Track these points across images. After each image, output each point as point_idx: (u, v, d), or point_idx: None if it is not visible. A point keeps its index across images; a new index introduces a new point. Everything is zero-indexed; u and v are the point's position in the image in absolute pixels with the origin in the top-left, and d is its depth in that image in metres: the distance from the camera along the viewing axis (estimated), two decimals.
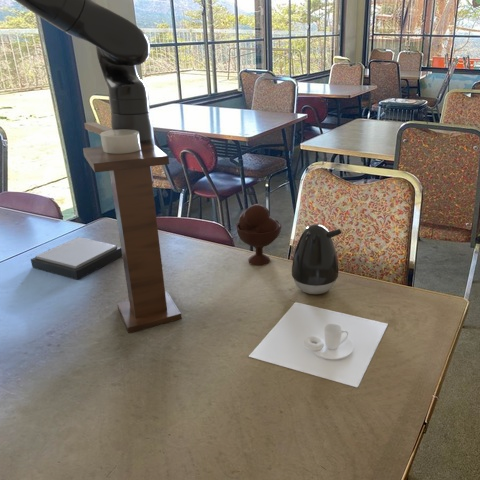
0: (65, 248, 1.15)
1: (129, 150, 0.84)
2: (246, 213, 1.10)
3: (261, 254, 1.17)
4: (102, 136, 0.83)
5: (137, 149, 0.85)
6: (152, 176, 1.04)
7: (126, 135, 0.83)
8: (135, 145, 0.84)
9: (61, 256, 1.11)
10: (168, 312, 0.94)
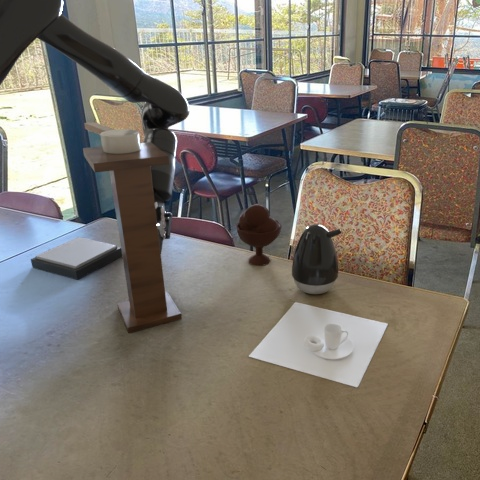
0: (65, 248, 1.15)
1: (129, 150, 0.84)
2: (246, 213, 1.10)
3: (261, 254, 1.17)
4: (102, 136, 0.83)
5: (137, 149, 0.85)
6: (170, 232, 1.04)
7: (126, 135, 0.83)
8: (135, 145, 0.84)
9: (61, 256, 1.11)
10: (168, 312, 0.94)
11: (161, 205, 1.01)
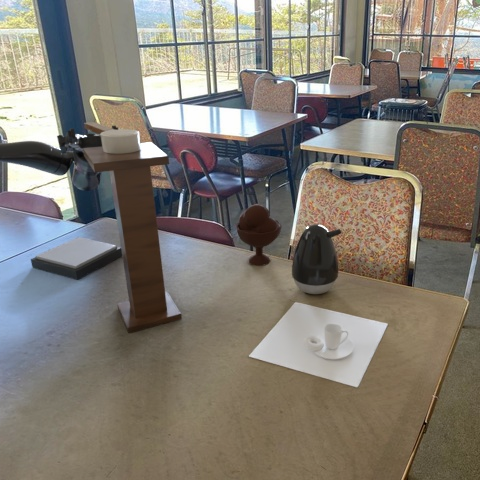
0: (65, 248, 1.15)
1: (129, 150, 0.84)
2: (246, 213, 1.10)
3: (261, 254, 1.17)
4: (102, 136, 0.83)
5: (137, 149, 0.85)
6: None
7: (126, 135, 0.83)
8: (135, 145, 0.84)
9: (61, 256, 1.11)
10: (168, 312, 0.94)
11: None
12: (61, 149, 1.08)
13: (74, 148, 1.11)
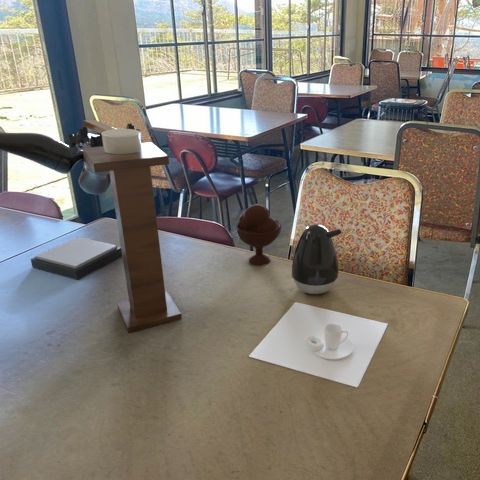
0: (65, 248, 1.15)
1: (130, 151, 0.83)
2: (246, 213, 1.10)
3: (261, 254, 1.17)
4: (103, 136, 0.82)
5: (138, 149, 0.85)
6: None
7: (127, 135, 0.83)
8: (136, 146, 0.84)
9: (61, 256, 1.11)
10: (168, 312, 0.94)
11: None
12: (71, 150, 0.98)
13: None
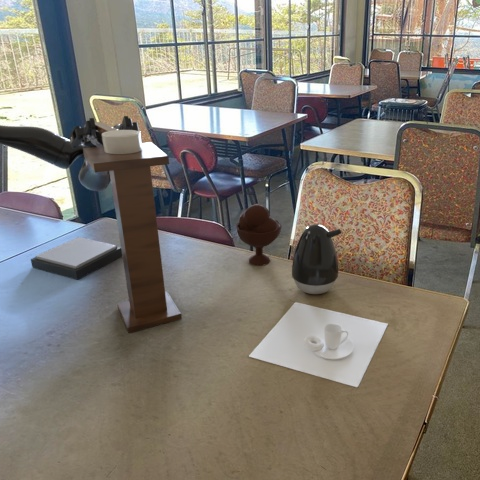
0: (65, 248, 1.15)
1: (129, 151, 0.83)
2: (246, 213, 1.10)
3: (261, 254, 1.17)
4: (103, 136, 0.83)
5: (137, 150, 0.85)
6: None
7: (126, 136, 0.83)
8: (135, 146, 0.84)
9: (61, 256, 1.11)
10: (168, 312, 0.94)
11: None
12: (75, 142, 0.95)
13: (87, 142, 0.98)
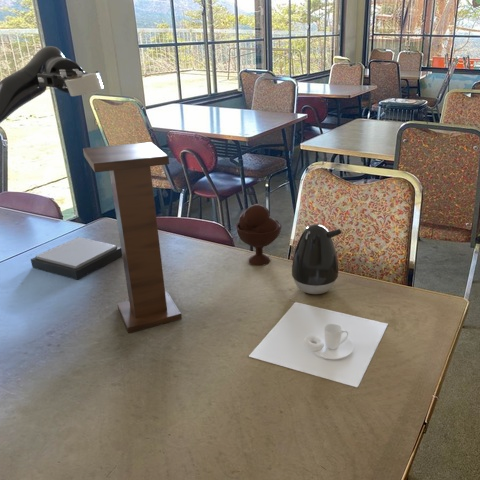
0: (65, 248, 1.15)
1: (89, 90, 0.94)
2: (246, 213, 1.10)
3: (261, 254, 1.17)
4: (65, 82, 0.94)
5: (97, 88, 0.95)
6: None
7: (83, 77, 0.93)
8: (94, 85, 0.95)
9: (61, 256, 1.11)
10: (168, 312, 0.94)
11: None
12: None
13: None
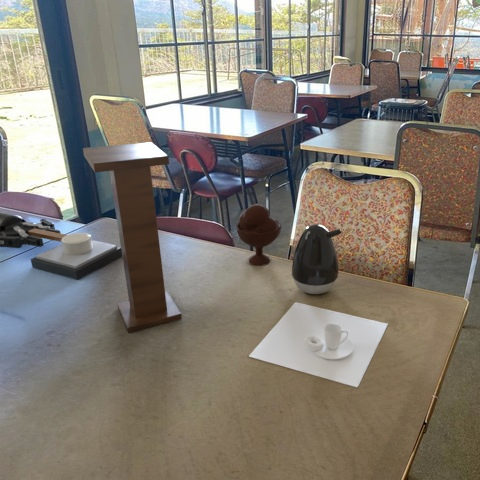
0: None
1: (88, 250, 1.14)
2: (246, 213, 1.10)
3: (261, 254, 1.17)
4: (66, 243, 1.11)
5: (92, 247, 1.15)
6: (51, 222, 1.23)
7: (85, 239, 1.13)
8: (91, 245, 1.15)
9: (61, 256, 1.11)
10: (168, 312, 0.94)
11: None
12: None
13: None
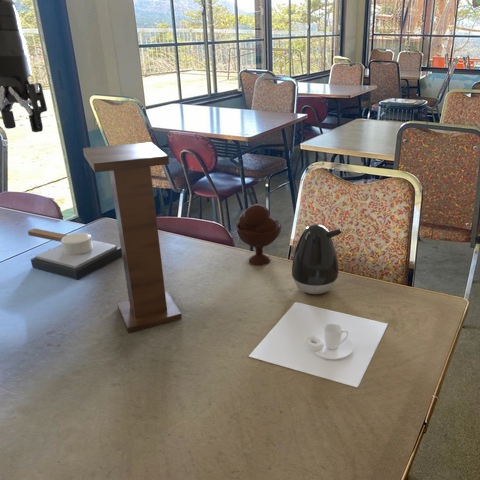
0: None
1: (88, 250, 1.14)
2: (246, 213, 1.10)
3: (261, 254, 1.17)
4: (66, 243, 1.11)
5: (92, 247, 1.15)
6: (35, 105, 1.03)
7: (85, 239, 1.13)
8: (91, 245, 1.15)
9: (61, 256, 1.11)
10: (168, 312, 0.94)
11: (15, 83, 1.03)
12: None
13: None
